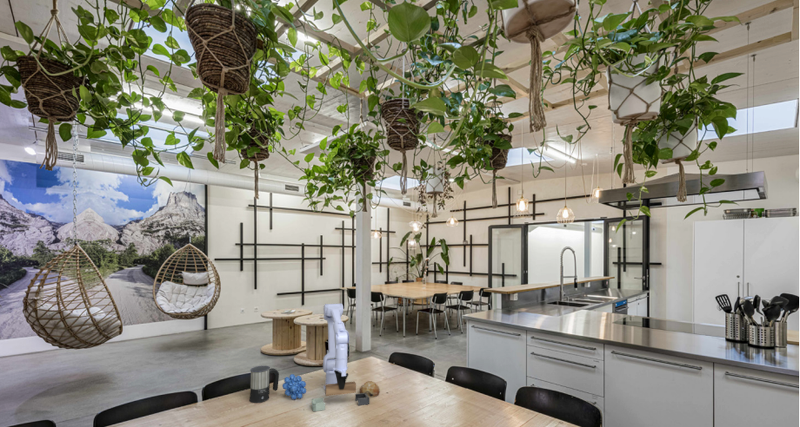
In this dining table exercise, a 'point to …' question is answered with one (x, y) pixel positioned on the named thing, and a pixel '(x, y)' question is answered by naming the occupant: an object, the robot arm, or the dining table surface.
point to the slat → (334, 389)
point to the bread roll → (370, 389)
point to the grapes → (294, 386)
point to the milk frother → (262, 383)
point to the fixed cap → (362, 399)
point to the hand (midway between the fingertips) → (340, 387)
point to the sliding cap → (318, 404)
